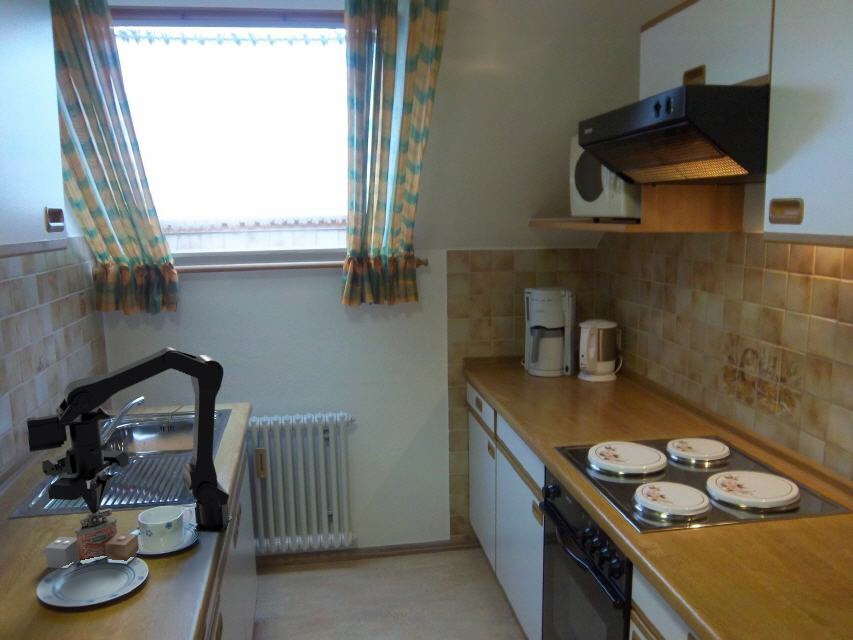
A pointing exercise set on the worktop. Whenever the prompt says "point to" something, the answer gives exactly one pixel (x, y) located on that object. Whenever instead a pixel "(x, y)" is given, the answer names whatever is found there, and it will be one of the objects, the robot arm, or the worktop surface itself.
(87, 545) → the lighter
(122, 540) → the walnut block
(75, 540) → the grey block
